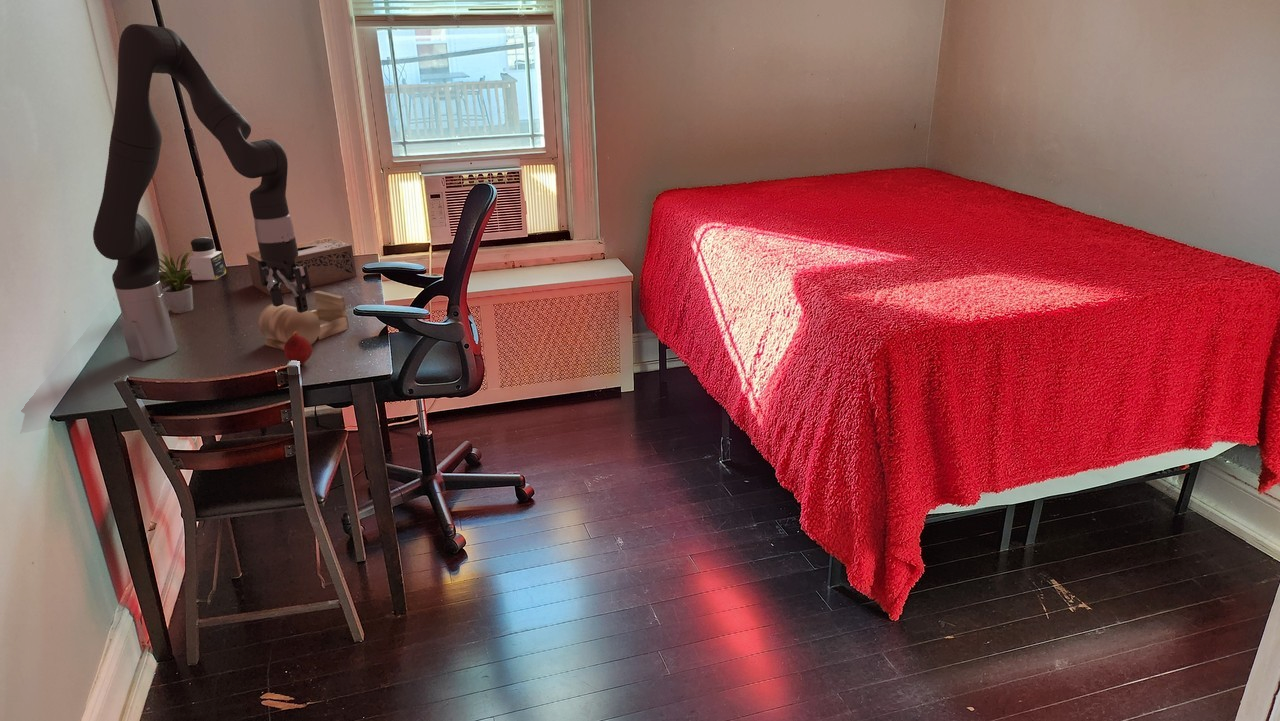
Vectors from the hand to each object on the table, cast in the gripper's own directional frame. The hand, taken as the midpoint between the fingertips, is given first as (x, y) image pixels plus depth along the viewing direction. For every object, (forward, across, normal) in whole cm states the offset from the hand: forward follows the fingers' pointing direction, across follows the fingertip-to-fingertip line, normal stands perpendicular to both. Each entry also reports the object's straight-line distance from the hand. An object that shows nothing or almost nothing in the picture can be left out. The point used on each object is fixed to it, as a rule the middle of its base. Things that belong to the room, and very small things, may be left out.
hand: (290, 308), depth 185 cm
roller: (+14, -14, +8) cm, 21 cm away
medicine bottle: (+13, -85, +30) cm, 91 cm away
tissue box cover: (+14, -55, +42) cm, 71 cm away
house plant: (+13, -63, +9) cm, 65 cm away
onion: (+14, 0, 0) cm, 14 cm away
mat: (+14, -16, +17) cm, 27 cm away
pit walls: (+14, -16, +17) cm, 27 cm away
